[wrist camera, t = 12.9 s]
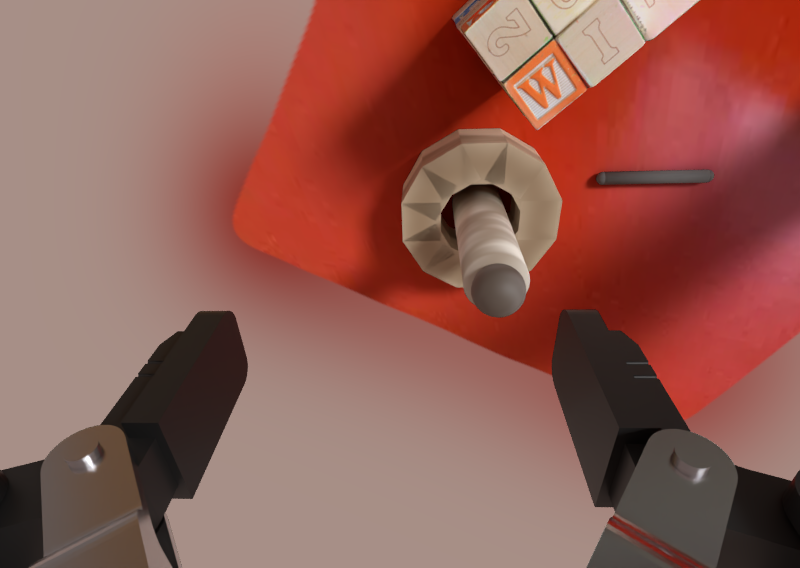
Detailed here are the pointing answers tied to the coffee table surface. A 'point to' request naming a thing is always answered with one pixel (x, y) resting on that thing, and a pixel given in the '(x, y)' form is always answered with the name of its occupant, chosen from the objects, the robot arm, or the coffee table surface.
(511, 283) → the grey tipped beige rod
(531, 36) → the stack of blocks
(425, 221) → the bead
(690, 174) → the dark grey rod
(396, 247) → the coffee table surface
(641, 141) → the coffee table surface
